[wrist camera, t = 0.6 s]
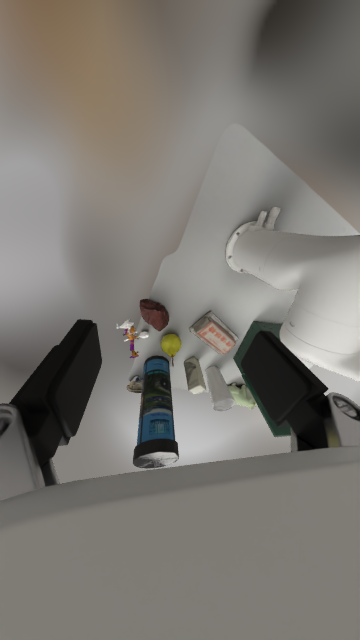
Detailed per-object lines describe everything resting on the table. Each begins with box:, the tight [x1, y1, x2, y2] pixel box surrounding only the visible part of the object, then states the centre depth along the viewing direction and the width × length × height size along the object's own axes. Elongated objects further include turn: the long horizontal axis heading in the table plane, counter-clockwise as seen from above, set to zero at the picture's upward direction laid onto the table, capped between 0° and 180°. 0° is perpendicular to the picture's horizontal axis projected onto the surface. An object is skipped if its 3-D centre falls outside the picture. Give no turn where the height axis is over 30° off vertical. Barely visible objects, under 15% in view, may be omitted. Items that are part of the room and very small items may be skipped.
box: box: [184, 357, 206, 395], centre depth 59 cm, size 5×4×13 cm
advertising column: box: [133, 356, 179, 468], centre depth 50 cm, size 11×11×30 cm
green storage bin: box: [233, 321, 282, 374], centre depth 60 cm, size 20×16×8 cm
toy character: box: [117, 319, 149, 358], centre depth 49 cm, size 10×9×12 cm
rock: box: [140, 299, 169, 331], centre depth 47 cm, size 11×6×8 cm
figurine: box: [228, 383, 257, 409], centre depth 76 cm, size 10×16×10 cm, turn 80°
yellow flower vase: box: [161, 334, 181, 364], centre depth 51 cm, size 7×7×12 cm
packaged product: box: [189, 311, 239, 354], centre depth 55 cm, size 18×5×10 cm
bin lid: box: [242, 374, 291, 437], centre depth 53 cm, size 20×16×1 cm
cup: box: [206, 366, 235, 411], centre depth 63 cm, size 8×8×16 cm
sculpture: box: [127, 376, 143, 393], centre depth 64 cm, size 8×8×6 cm
